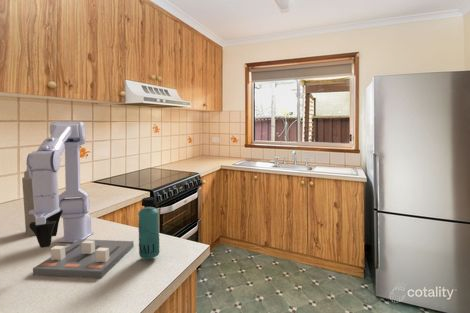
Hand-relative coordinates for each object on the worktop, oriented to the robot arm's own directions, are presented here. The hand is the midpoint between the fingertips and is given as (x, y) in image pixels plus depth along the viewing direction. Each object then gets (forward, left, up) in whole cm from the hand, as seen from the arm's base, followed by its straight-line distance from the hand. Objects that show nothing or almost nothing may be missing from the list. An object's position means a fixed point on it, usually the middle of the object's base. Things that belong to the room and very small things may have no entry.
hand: (48, 241), depth 74 cm
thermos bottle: (-29, -28, -10) cm, 42 cm away
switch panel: (-9, +6, -10) cm, 14 cm away
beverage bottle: (-11, +25, -10) cm, 29 cm away
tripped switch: (-9, +6, -7) cm, 13 cm away
